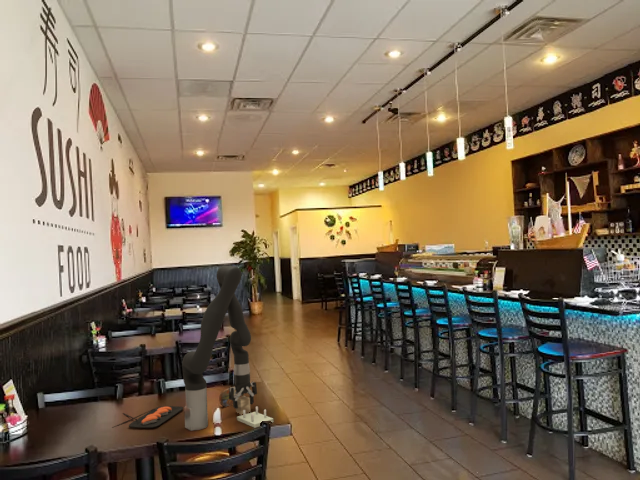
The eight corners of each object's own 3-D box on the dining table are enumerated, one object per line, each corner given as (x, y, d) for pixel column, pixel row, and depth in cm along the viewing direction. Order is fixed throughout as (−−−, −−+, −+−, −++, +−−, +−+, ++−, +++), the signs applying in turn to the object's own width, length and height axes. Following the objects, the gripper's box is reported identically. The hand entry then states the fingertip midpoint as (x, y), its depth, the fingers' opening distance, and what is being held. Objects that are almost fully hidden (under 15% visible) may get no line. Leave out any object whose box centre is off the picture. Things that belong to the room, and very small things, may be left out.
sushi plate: (155, 431, 222) (155, 422, 222) (95, 429, 228) (94, 421, 228) (185, 410, 250) (185, 402, 250) (131, 409, 256) (131, 401, 256)
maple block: (241, 414, 238) (240, 400, 238) (236, 412, 242) (235, 398, 242) (250, 412, 241) (249, 397, 241) (244, 410, 245) (244, 395, 245)
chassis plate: (254, 427, 219) (254, 416, 219) (236, 420, 230) (236, 409, 231) (273, 422, 225) (273, 410, 226) (255, 414, 237) (254, 404, 237)
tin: (222, 408, 249) (222, 391, 249) (218, 407, 250) (217, 390, 251) (244, 400, 260) (243, 384, 261) (240, 399, 262) (239, 383, 263)
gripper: (233, 376, 234) (234, 411, 234) (258, 370, 243) (260, 404, 243) (225, 374, 240) (226, 408, 240) (250, 368, 249) (252, 401, 249)
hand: (243, 406), depth 241 cm, fingers open, 8 cm apart
